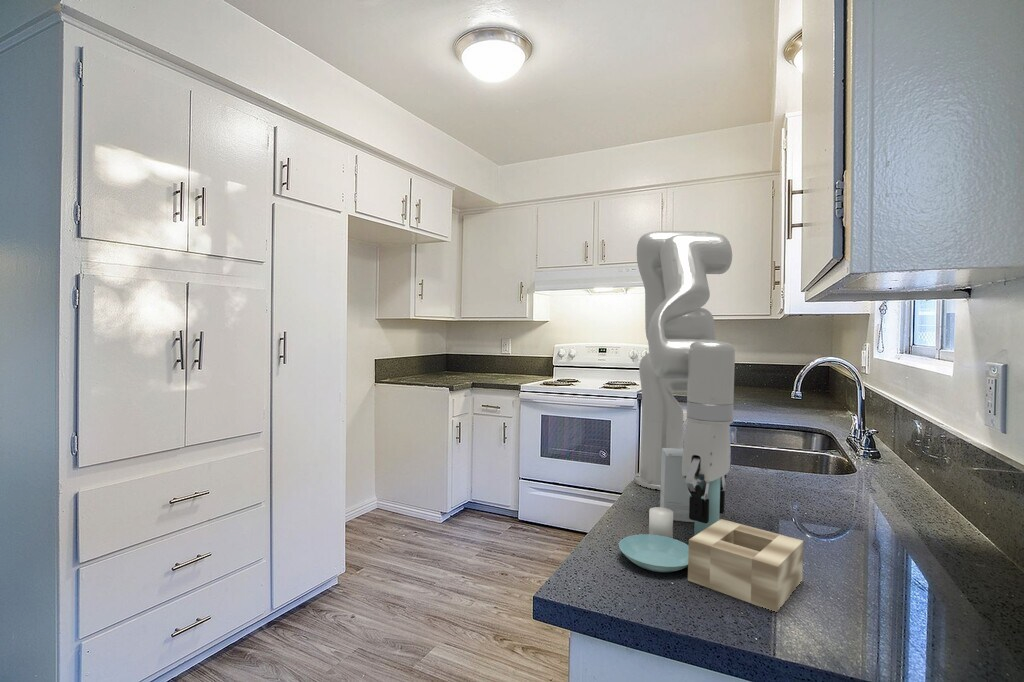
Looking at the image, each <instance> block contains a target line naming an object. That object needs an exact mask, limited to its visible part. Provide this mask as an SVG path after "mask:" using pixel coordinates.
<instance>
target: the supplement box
mask: <svg viewBox="0 0 1024 682" xmlns="http://www.w3.org/2000/svg"><path fill="white" fill-rule="evenodd" d="M682 458H683V449H675V448H662V455H661V490H660V495H659V496H660V498H659V499H660V500H659V507H662V508H667V509H670V510H672V511H673V521H675V522H686V523H687V522H688V523H694V520H691V519H690V518H689V499H690V497H689V490H688V486H687V485H686V483H685V479H686V478H684V477H683V476H682Z"/></svg>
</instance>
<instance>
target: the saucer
mask: <svg viewBox="0 0 1024 682" xmlns="http://www.w3.org/2000/svg"><path fill="white" fill-rule="evenodd" d="M618 548H619V550H620V552H622V554H623V555H624V556H625V557H626V558H627V559H628V560H630V561H631V562H632V563H633V564H635V565H636V566H638V567H640V568H642V569H643V570H644V569H646V570H647V571H650V572H655V573H674V572H677V571H680V570H683V569H685V568H688V551H689V544H687V543H685V542H684V541H681V540H678V539H675V538H674V537H673V538H669V537H665V536H659V535H649V534H645V533H643V534H634V535H633V534H632V535H628V536H626V537H624V538H622V539H621V540H620V541H619V543H618Z"/></svg>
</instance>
